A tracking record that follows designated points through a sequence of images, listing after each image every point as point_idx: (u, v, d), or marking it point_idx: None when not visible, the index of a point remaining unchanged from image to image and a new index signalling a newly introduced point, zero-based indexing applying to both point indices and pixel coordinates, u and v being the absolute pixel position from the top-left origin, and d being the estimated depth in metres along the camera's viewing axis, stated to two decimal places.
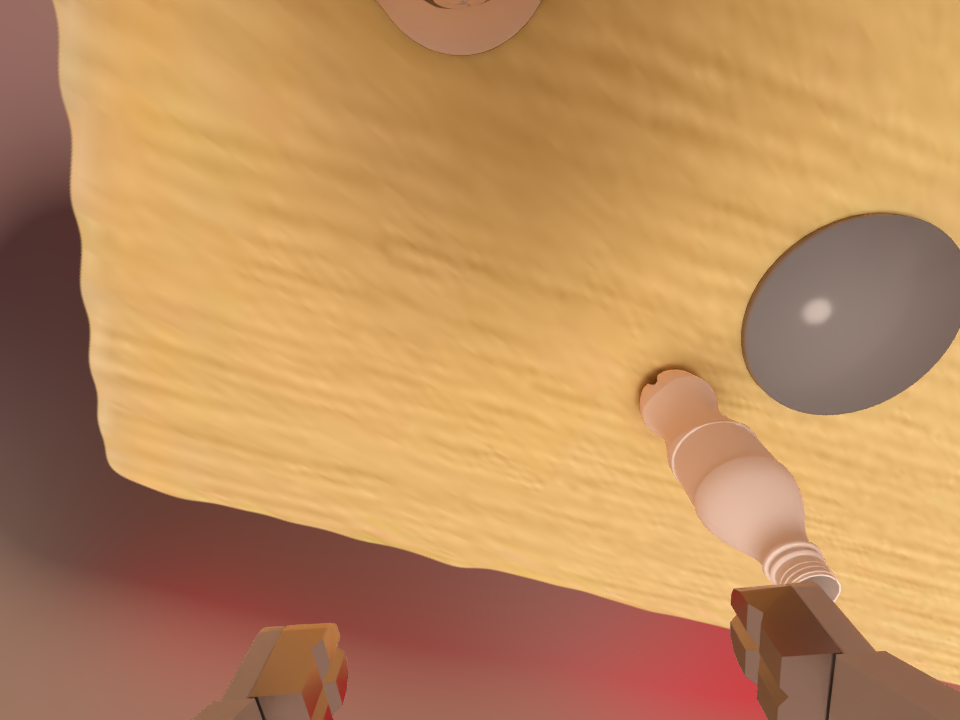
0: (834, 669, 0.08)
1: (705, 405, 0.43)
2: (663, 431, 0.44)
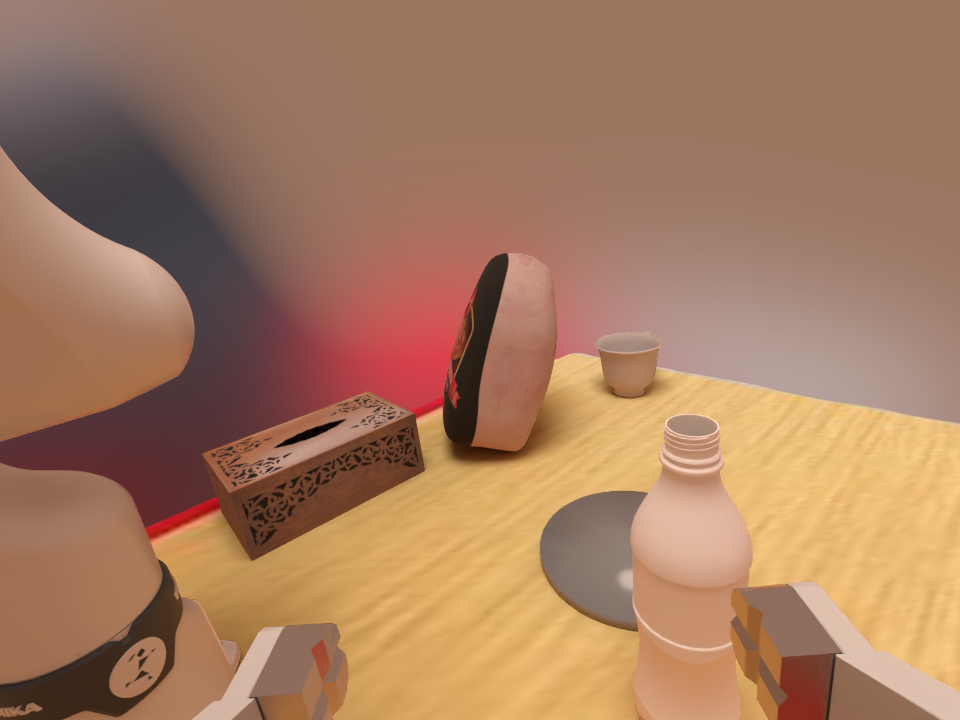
0: (834, 669, 0.08)
1: None
2: (673, 682, 0.32)
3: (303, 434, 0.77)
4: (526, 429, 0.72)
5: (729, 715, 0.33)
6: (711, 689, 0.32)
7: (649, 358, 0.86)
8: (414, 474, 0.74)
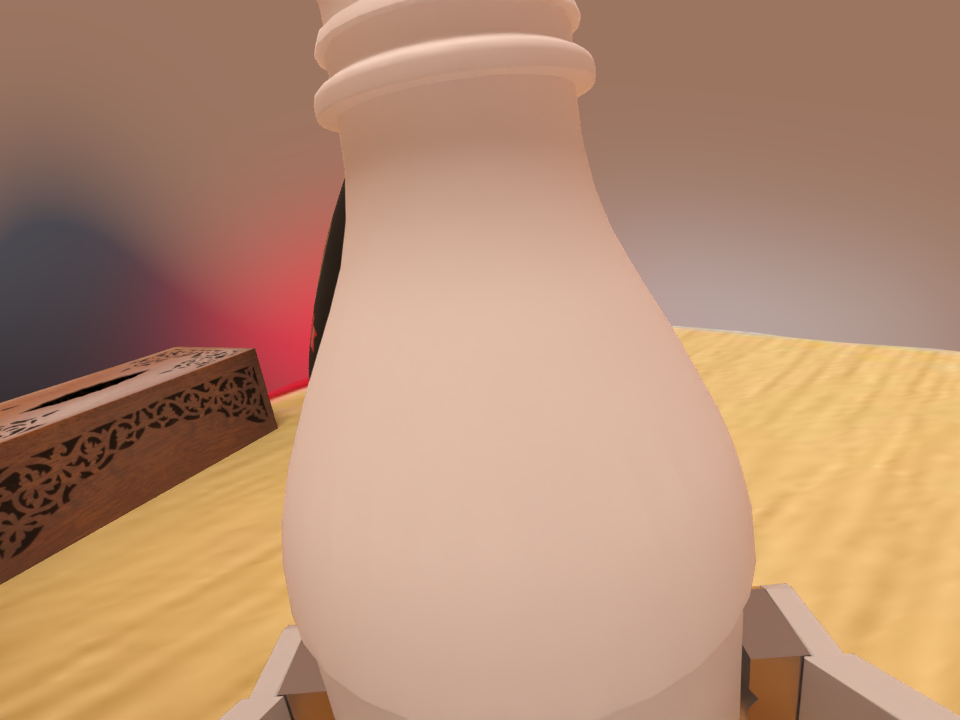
0: (803, 671, 0.08)
1: None
2: None
3: None
4: None
5: None
6: None
7: None
8: (264, 433, 0.55)
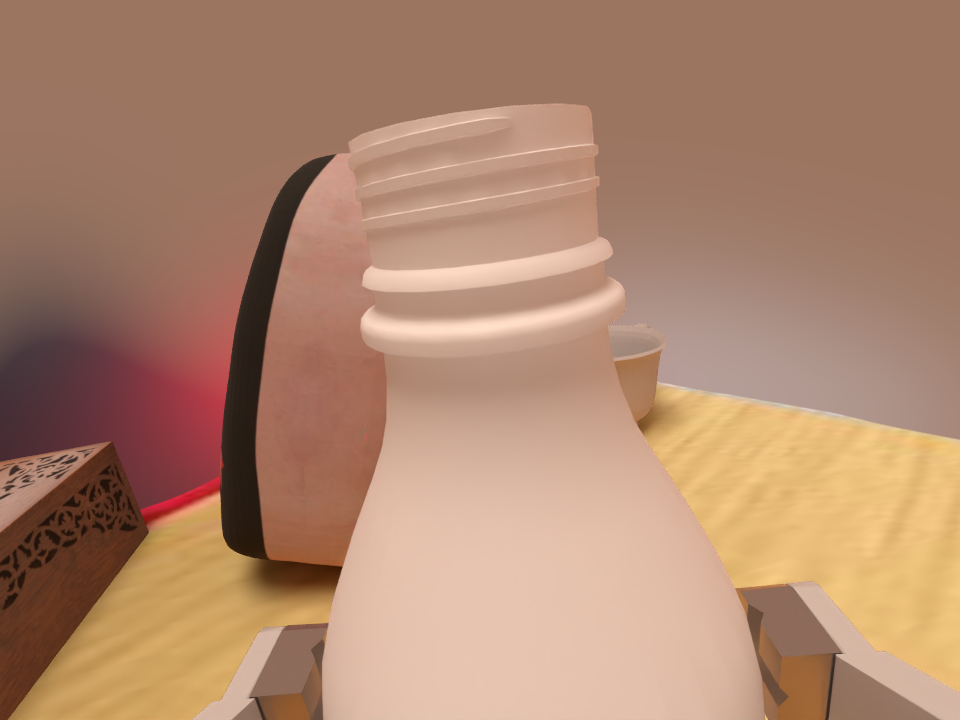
0: (834, 669, 0.08)
1: None
2: None
3: None
4: None
5: None
6: None
7: (644, 369, 0.48)
8: (138, 542, 0.45)
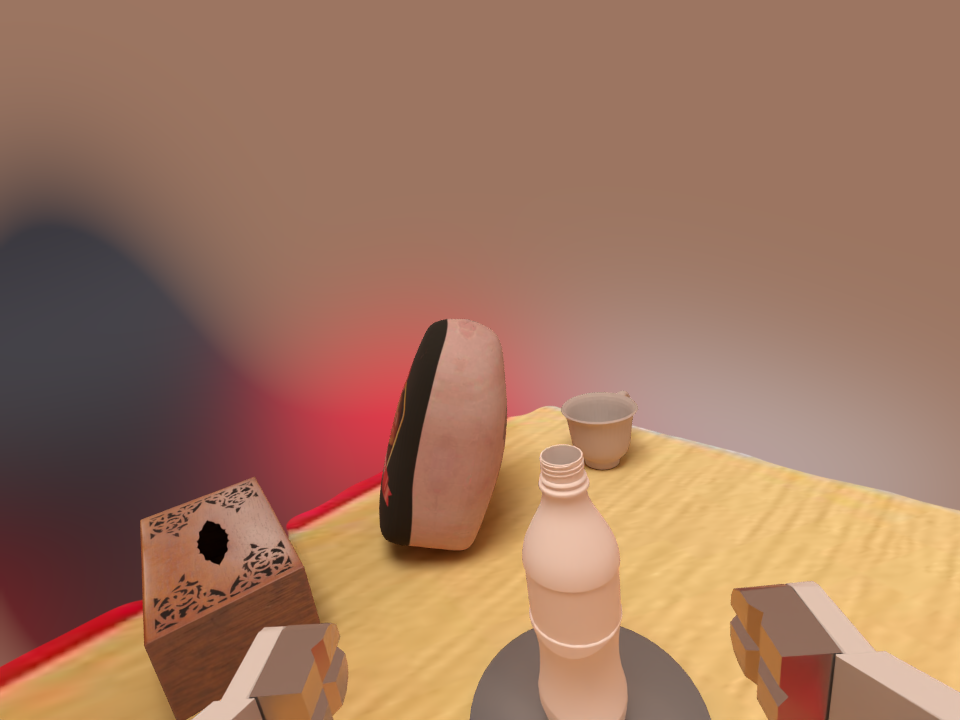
0: (834, 669, 0.08)
1: None
2: (562, 677, 0.37)
3: None
4: (472, 528, 0.61)
5: (614, 704, 0.38)
6: (595, 682, 0.37)
7: (622, 428, 0.75)
8: None
